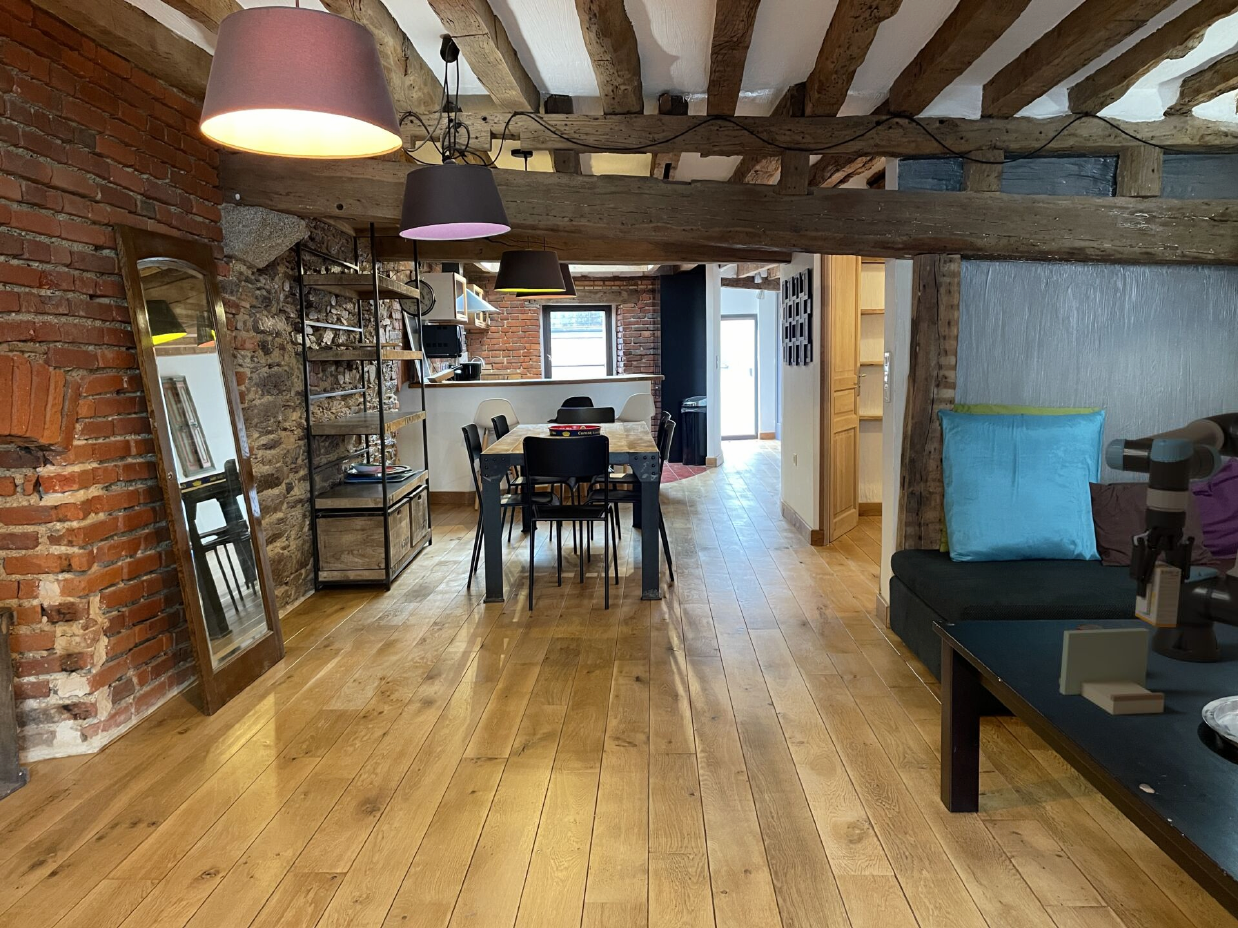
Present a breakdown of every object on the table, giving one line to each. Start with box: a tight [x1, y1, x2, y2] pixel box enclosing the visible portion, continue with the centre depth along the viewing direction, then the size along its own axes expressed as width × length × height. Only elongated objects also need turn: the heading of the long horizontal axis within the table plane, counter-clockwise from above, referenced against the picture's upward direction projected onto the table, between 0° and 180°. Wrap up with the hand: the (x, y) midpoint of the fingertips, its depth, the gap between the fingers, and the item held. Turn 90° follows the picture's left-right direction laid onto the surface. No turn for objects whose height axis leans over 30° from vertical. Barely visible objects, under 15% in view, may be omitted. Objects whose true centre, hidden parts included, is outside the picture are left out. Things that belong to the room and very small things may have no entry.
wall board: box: [1058, 627, 1166, 716], centre depth 192 cm, size 20×18×15 cm
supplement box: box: [1134, 560, 1181, 628], centre depth 184 cm, size 8×5×13 cm, turn 176°
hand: (1155, 610), depth 184 cm, fingers closed on supplement box, 5 cm apart
